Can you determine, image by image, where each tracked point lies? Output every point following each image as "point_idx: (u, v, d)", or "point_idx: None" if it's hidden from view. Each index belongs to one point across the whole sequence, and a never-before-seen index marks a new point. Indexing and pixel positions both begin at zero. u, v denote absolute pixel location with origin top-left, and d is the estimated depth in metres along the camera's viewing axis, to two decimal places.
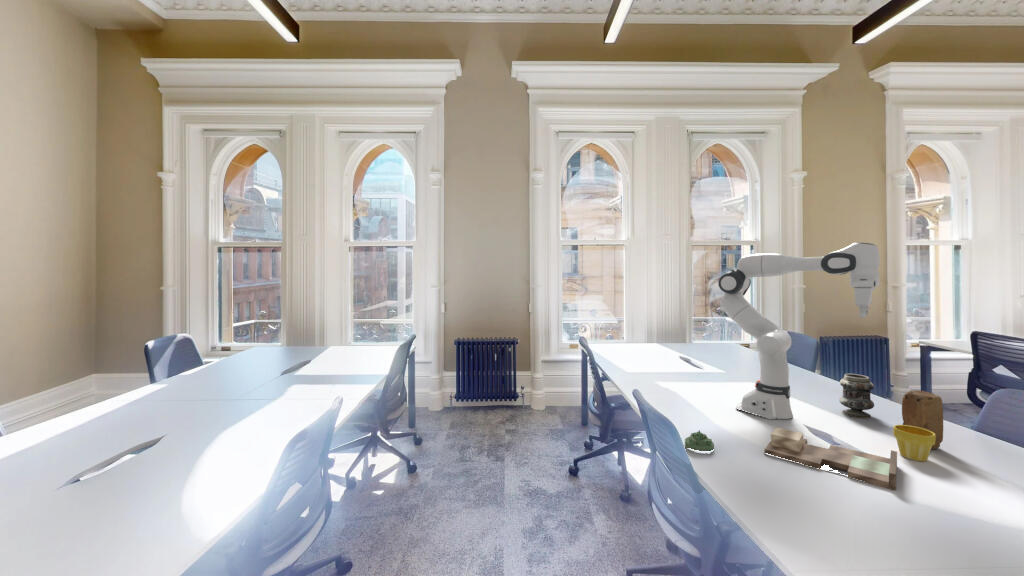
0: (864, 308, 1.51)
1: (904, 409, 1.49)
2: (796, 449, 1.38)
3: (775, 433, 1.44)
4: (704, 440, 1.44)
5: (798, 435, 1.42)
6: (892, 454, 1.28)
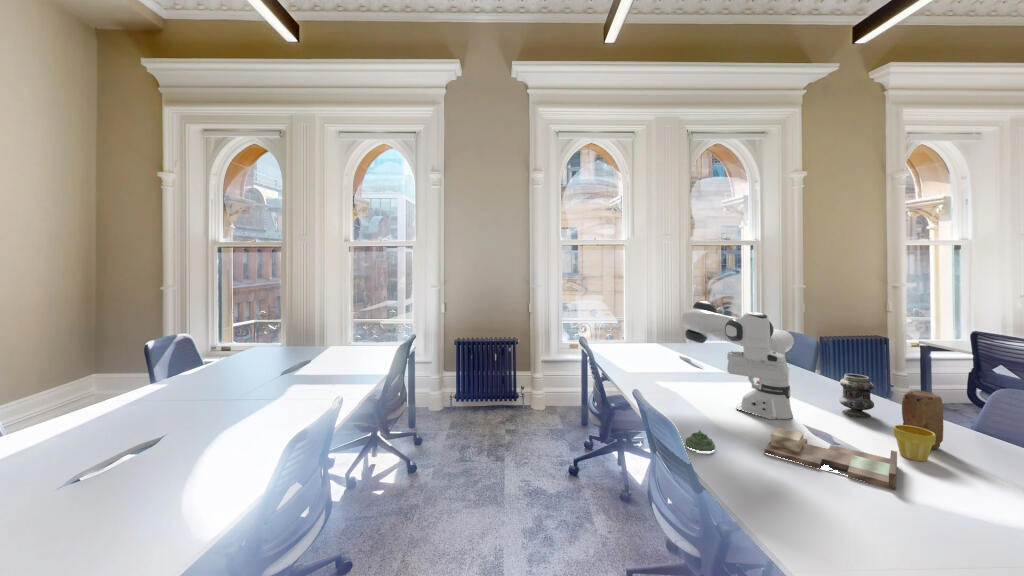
0: (764, 380, 1.49)
1: (904, 409, 1.49)
2: (796, 449, 1.38)
3: (775, 433, 1.44)
4: (705, 440, 1.44)
5: (798, 435, 1.42)
6: (892, 454, 1.28)
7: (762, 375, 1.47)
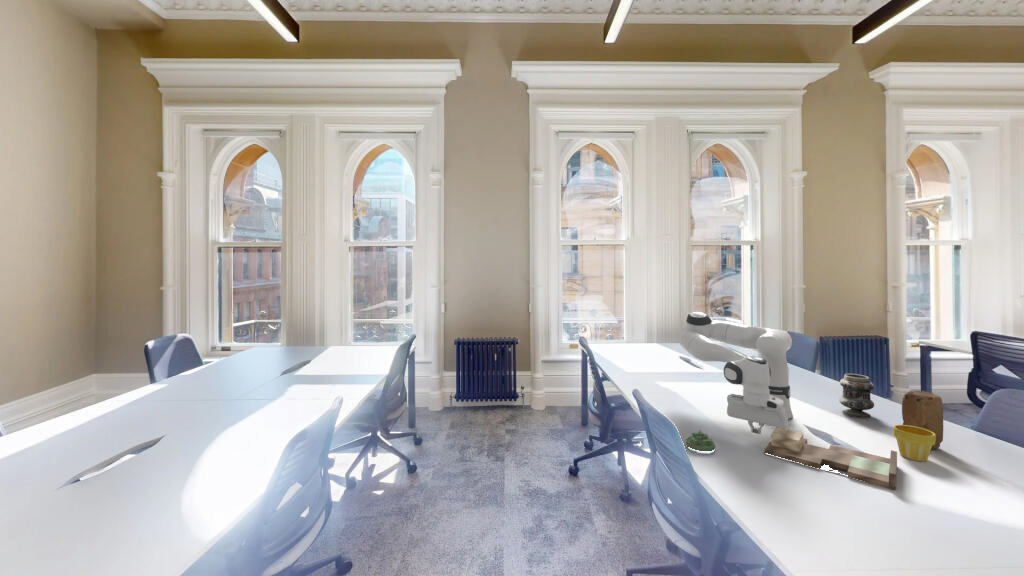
0: (763, 425, 1.50)
1: (904, 409, 1.49)
2: (796, 449, 1.38)
3: (775, 433, 1.44)
4: (705, 440, 1.44)
5: (798, 435, 1.42)
6: (892, 454, 1.28)
7: (761, 420, 1.48)
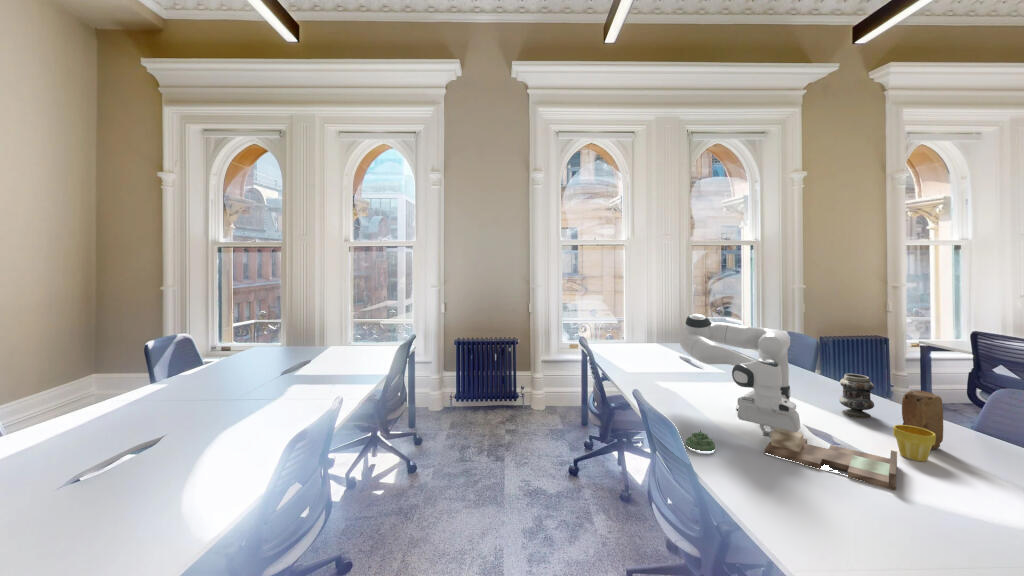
0: (775, 428, 1.47)
1: (904, 409, 1.49)
2: (796, 449, 1.38)
3: (775, 433, 1.44)
4: (705, 440, 1.44)
5: (798, 435, 1.42)
6: (892, 454, 1.28)
7: (773, 424, 1.45)
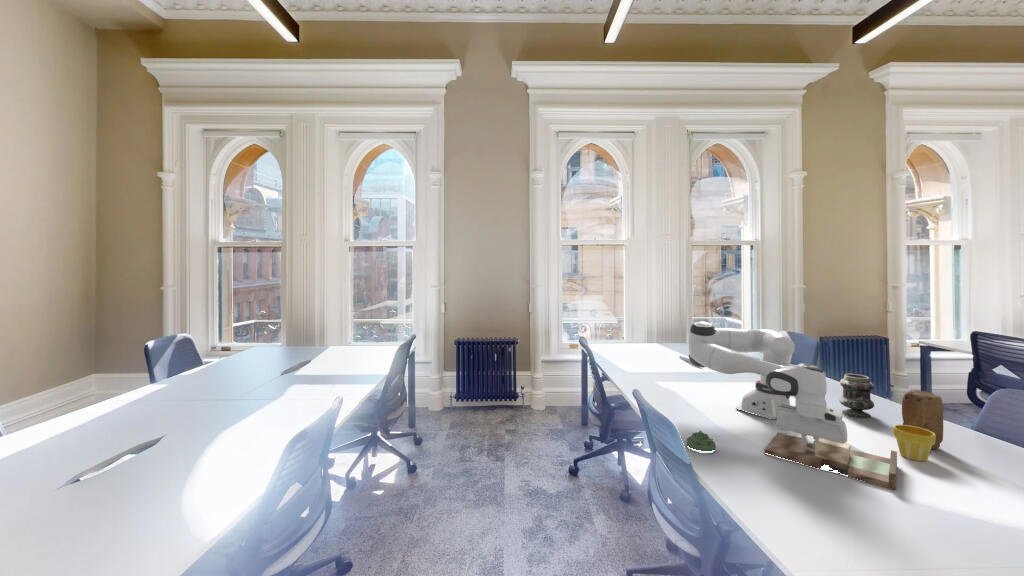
0: (818, 438, 1.37)
1: (904, 409, 1.49)
2: (844, 462, 1.29)
3: (819, 444, 1.34)
4: (706, 440, 1.44)
5: (845, 447, 1.32)
6: (892, 454, 1.28)
7: (817, 434, 1.35)
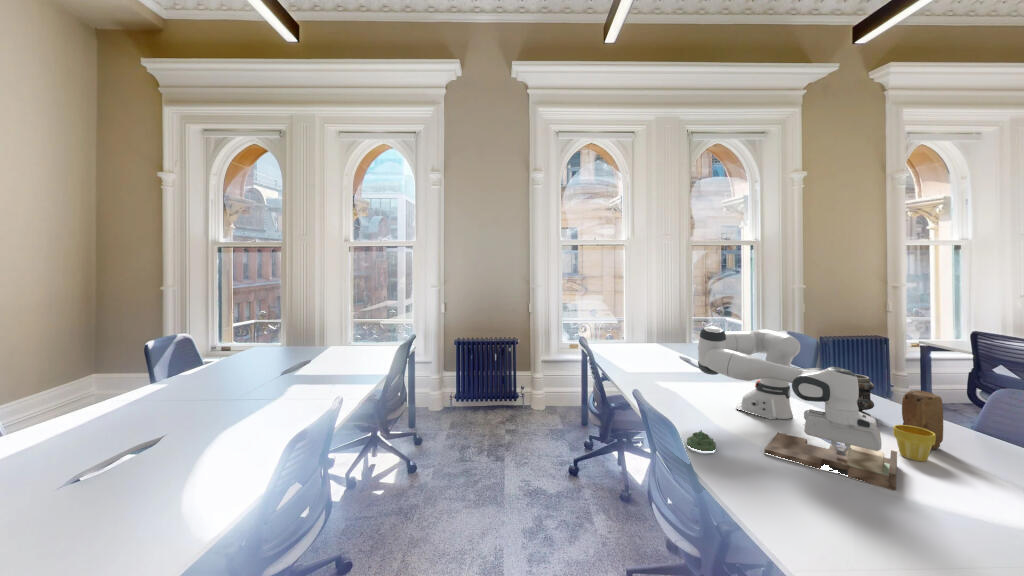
0: None
1: (904, 409, 1.49)
2: (879, 471, 1.23)
3: (852, 452, 1.28)
4: (706, 440, 1.44)
5: (880, 455, 1.26)
6: (892, 454, 1.28)
7: (849, 441, 1.29)
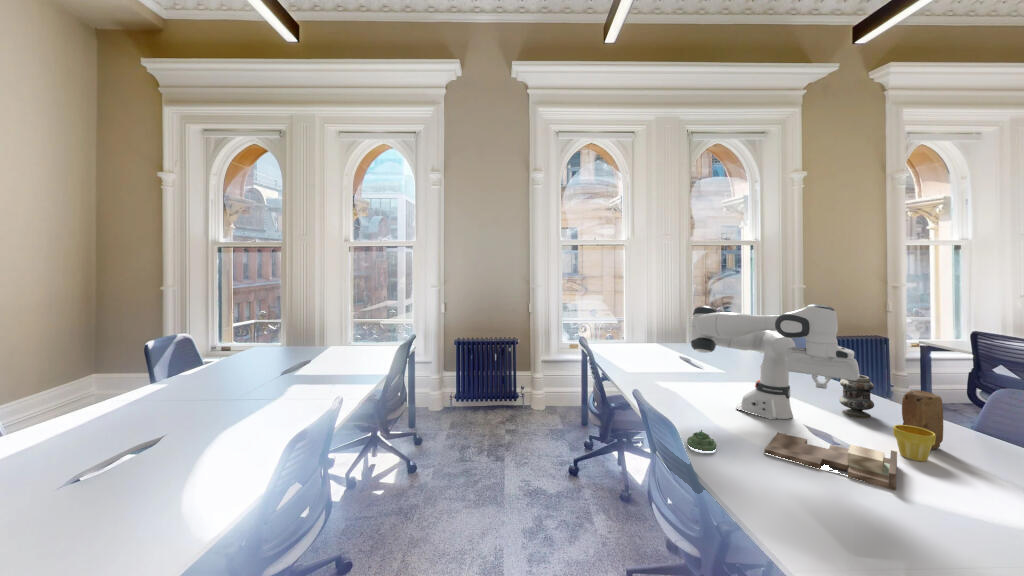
0: (830, 378, 1.36)
1: (904, 409, 1.49)
2: (879, 471, 1.22)
3: (852, 452, 1.28)
4: (707, 440, 1.44)
5: (880, 455, 1.26)
6: (892, 454, 1.28)
7: (829, 373, 1.34)
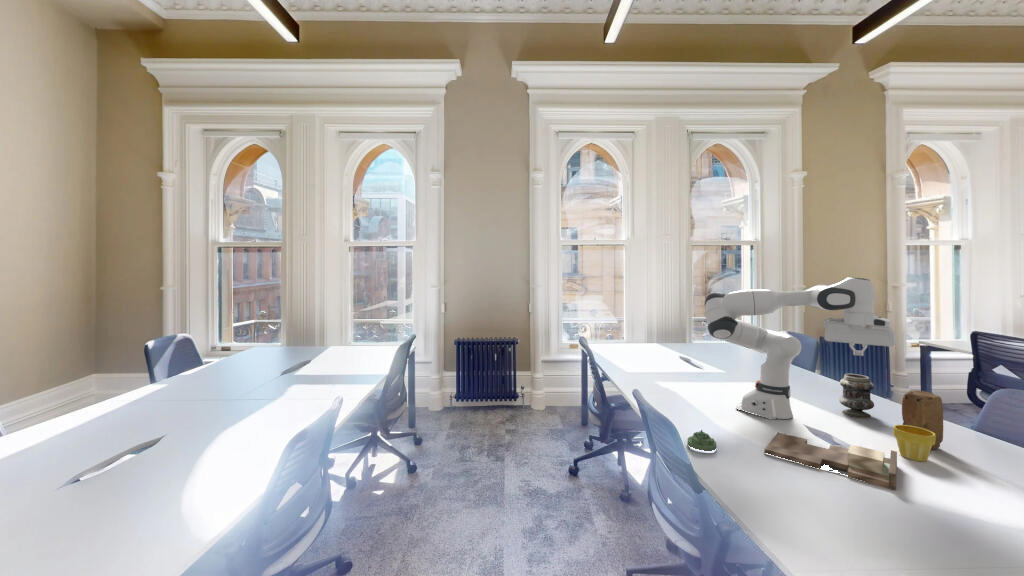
0: None
1: (904, 409, 1.49)
2: (879, 471, 1.22)
3: (852, 452, 1.28)
4: (707, 440, 1.44)
5: (880, 455, 1.26)
6: (892, 454, 1.28)
7: (866, 341, 1.44)
